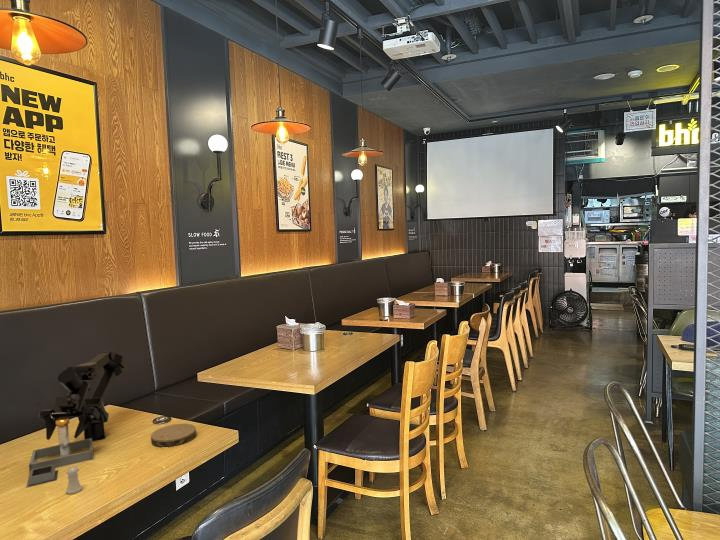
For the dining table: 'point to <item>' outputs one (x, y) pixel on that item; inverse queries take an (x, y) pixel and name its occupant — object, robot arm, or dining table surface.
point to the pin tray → (64, 459)
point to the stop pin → (63, 436)
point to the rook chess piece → (73, 481)
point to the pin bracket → (42, 475)
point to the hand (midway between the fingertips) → (61, 438)
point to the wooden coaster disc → (173, 435)
